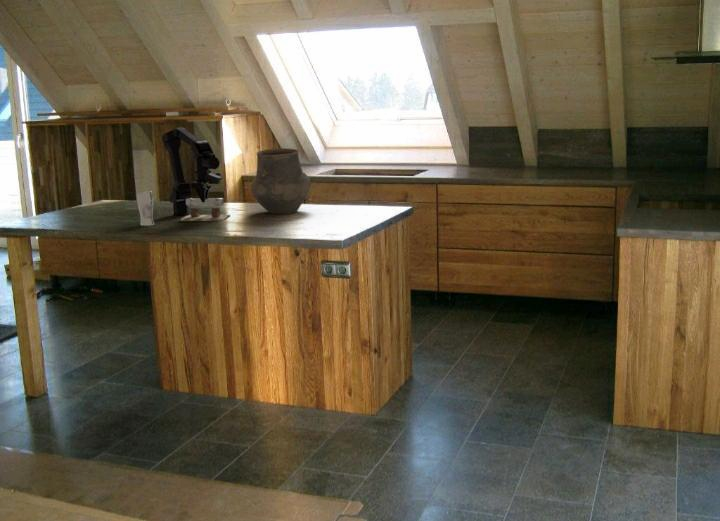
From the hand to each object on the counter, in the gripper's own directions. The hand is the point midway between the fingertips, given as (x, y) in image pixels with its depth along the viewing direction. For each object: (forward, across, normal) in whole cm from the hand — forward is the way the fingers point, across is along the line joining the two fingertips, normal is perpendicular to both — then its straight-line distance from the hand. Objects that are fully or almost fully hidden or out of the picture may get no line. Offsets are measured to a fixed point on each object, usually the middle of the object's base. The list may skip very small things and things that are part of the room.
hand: (204, 201), depth 385 cm
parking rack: (+8, 0, 0) cm, 8 cm away
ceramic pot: (+8, +18, -32) cm, 38 cm away
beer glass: (+8, -16, +22) cm, 28 cm away
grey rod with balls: (+2, 0, 0) cm, 2 cm away
